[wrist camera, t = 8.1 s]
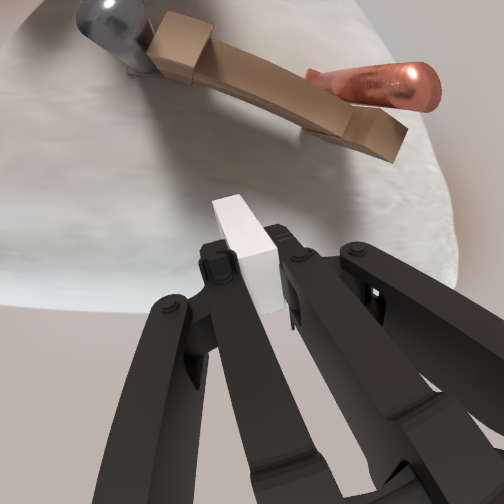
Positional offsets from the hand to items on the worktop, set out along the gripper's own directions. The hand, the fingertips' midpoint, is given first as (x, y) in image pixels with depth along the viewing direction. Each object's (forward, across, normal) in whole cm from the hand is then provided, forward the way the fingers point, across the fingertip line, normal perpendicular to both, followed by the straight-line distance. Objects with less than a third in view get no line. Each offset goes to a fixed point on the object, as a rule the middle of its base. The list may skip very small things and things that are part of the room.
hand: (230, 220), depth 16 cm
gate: (+9, +4, +7) cm, 12 cm away
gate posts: (+9, +4, +9) cm, 13 cm away
